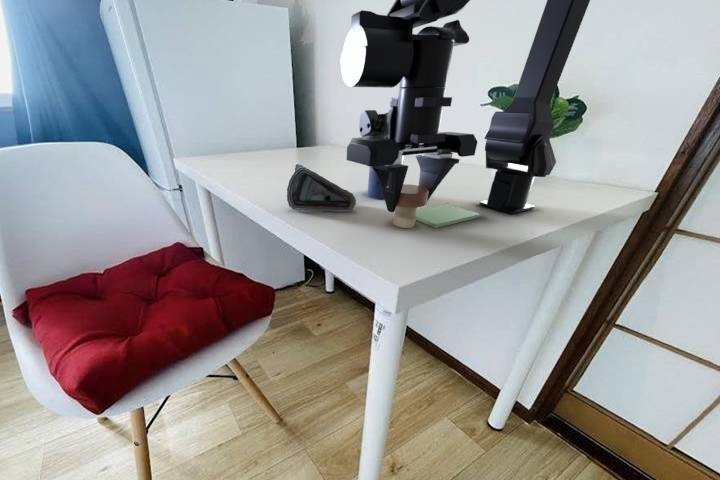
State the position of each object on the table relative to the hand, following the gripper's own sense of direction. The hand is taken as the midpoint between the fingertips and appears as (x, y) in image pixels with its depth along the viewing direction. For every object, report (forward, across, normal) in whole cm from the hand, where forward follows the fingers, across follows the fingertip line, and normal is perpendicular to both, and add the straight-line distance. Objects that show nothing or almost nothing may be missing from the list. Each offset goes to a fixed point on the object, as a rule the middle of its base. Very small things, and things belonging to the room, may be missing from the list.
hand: (406, 208), depth 46 cm
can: (+2, -8, -15) cm, 17 cm away
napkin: (+2, -8, 0) cm, 8 cm away
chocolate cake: (+3, +6, -15) cm, 16 cm away
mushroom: (+2, 0, 0) cm, 2 cm away
